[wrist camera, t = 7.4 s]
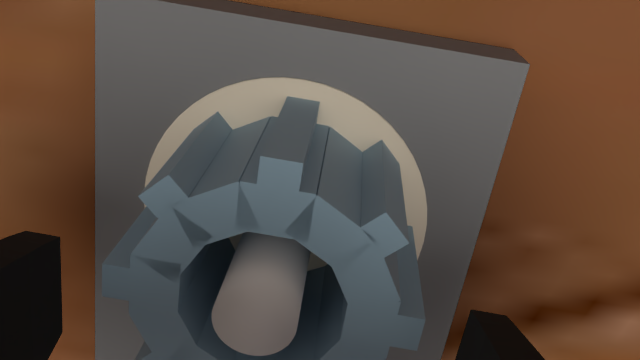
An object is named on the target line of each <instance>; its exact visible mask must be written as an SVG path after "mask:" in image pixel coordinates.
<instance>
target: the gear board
mask: <svg viewBox="0 0 640 360" xmlns="http://www.w3.org/2000/svg"><path fill="white" fill-rule="evenodd" d="M529 66H530V64H529V63H528V62H527V61H526V60H525V59H524V58H522V57H521V56H520V55H519V54H518V53H517V52H516V51H515V50H514V49H508V48H502V47H496V46H490V45H485V44H479V43H473V42H467V41H461V40H455V39H450V38H444V37H438V36H432V35H426V34H420V33H415V32H409V31H403V30H397V29H391V28H385V27H380V26H374V25H368V24H362V23H356V22H350V21H345V20H339V19H333V18H327V17H321V16H315V15H310V14H304V13H298V12H292V11H286V10H280V9H275V8H269V7H263V6H257V5H251V4H245V3H240V2H234V1H228V0H95V360H135V358H136V356H137V355H138V353H139V351H140V349H141V347H142V345H143V343H144V341H145V340H144V339H143V337H142V335H141V334H140V332H139V330H138V329H137V327H136V325H135V324H134V322H133V320H132V319H131V317H130V315H129V301H127V300H121V299H115V298H109V297H104V296H102V263H103V262H104V261H105V259H106V258H107V257H108V255H109V254H110V253H111V251H112V250H113V249H114V248H115V246H116V245H117V244H118V242H119V241H120V240H121V239H122V237H123V236H124V235H125V233H126V232H127V231H128V229H129V228H130V227H131V226H132V224H133V223H134V222H135V220H136V219H137V218H138V216H139V215H140V214H141V213H142V211H143V210H144V209H145V207H146V205H145V204H144V203H143V202H142V200H141V199H140V198H139V197H138V196H139V194H140V193H141V192H142V191H143V190H144V188H145V187H146V186H147V185H148V184H149V182H150V181H151V180H152V179H153V178H154V176H155V175H156V174H157V173H158V172H159V170H160V169H161V168H162V167H163V165H164V164H165V163H166V162H167V161H168V159H169V158H170V157H171V156H172V155H173V153H174V152H175V151H176V150H177V149H178V147H179V146H180V145H181V144H182V143H183V141H184V140H185V139H186V138H187V137H188V135H189V134H190V133H191V132H192V131H193V129H194V128H196V127H197V126H198V125H200V124H201V123H203V122H204V121H205V120H207V119H208V118H209V117H211V116H212V115H214V114H215V113H216V112H219V113H220V115H221V116H222V117H223V118H224V120H225V121H226V122H227V123H228V124H229V126H230V127H231V128H232V130H233V129H236V128H239V127H242V126H244V125H247V124H250V123H253V122H256V121H258V120H261V119H264V118H267V117H270V116H271V117H272V116H274V117H278V116H279V114H280V111H281V109H282V107H283V105H284V103H285V100H286V98H287V96H290V97H296V98H302V99H307V100H313V101H319V102H320V104H319V111H318V117H317V123H316V124H321V125H327V126H329V127H332V128H333V129H334V130H335V131H337V132H338V133H339V134H340V135H342V136H343V137H344V138H346V139H347V140H348V141H349V142H351V143H352V144H353V145H354V146H356V147H357V148H358V149H359V150H361V151H362V152H363V151H365V150H366V149H368V148H369V147H371V146H372V145H374V144H376V143H377V142H379V141H380V140H383V142H384V143H385V145H386V146H387V147H388V149H389V150H390V151H391V153H392V154H393V156H394V157H395V158H396V160H397V161H398V163H399V164H400V171H401V179H402V187H403V195H404V203H405V211H406V219H407V225H408V226H412V227H413V234H414V241H415V248H416V255H417V262H418V269H419V276H420V284H421V291H422V298H423V305H424V312H425V319H426V320H425V324H424V327H423V331H422V335H421V338H420V342H419V345H418V349H417V351H414V350H408V349H403V348H397V347H391V346H390V347H389V351H388V355H387V358H386V360H441V356H442V353H443V350H444V347H445V343H446V340H447V337H448V333H449V330H450V327H451V323H452V320H453V317H454V313H455V310H456V307H457V304H458V300H459V297H460V294H461V290H462V287H463V284H464V280H465V277H466V274H467V271H468V267H469V264H470V261H471V257H472V254H473V251H474V247H475V244H476V241H477V238H478V234H479V231H480V228H481V224H482V221H483V218H484V214H485V211H486V208H487V205H488V201H489V198H490V195H491V191H492V188H493V185H494V181H495V178H496V175H497V171H498V168H499V165H500V162H501V158H502V155H503V152H504V148H505V145H506V142H507V138H508V135H509V132H510V129H511V125H512V122H513V119H514V115H515V112H516V109H517V105H518V102H519V99H520V96H521V92H522V89H523V86H524V82H525V79H526V76H527V72H528V69H529ZM229 239H230V241H231V243H232V245H233V247H234V249H235V254H234V256H233V259H232V261H231V264H230V266H229V269H228V271H227V274H226V276H225V279H224V281H223V284H222V286H221V289H220V291H219V294H218V296H217V299H216V301H215V304H214V306H213V309H212V324H213V328H214V330H215V332H216V334H217V335H218V337H219V338H220V339H221V340H222V341H223V342H224V343H225V344H226V345H227V346H229V347H230V348H232V349H234V350H236V351H238V352H240V353H243V354H247V355H253V356H265V355H270V354H274V353H277V352H279V351H281V350H282V349H284V348H285V347H286V346H288V345H289V344H290V342H291V341H292V340H293V338H294V336H295V334H296V331H297V326H298V321H299V315H300V309H301V303H302V298H303V292H304V286H305V281H306V275H307V271H310V270H313V269H317V268H320V267H323V266H326V265H327V263H326V262H325V261H323V260H322V259H321V258H319V257H318V256H316V255H315V254H314V253H312V252H311V251H310V250H308V249H307V248H306V247H304V246H303V245H301V244H300V243H299V242H297V241H296V240H294V239H288V238H283V237H277V236H271V235H265V234H260V233H254V232H245V233H241V234H238V235H235V236H232V237H229Z"/></svg>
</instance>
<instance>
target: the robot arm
mask: <svg viewBox="0 0 640 360" xmlns="http://www.w3.org/2000/svg"><path fill="white" fill-rule="evenodd" d="M61 334H62V295H61V256H60V237H57V236H51V235H46V234H40V233H34V232H29V231H24V232H21V233H18V234H15V235H12V236H9V237H6V238H4V239H1V240H0V360H48V358H49V356H50V354H51V353H52V351H53V349H54V347H55V345H56V343H57V341H58V339H59V338H60V336H61ZM455 360H545V359H544V358H543V357H542V356H541V355H540V353H539V352H538V351H537V350H536V349H535V348H534V346H533V345H532V344H531V343H530V342H529V341H528V339H527V338H526V337H525V336H524V335H523V334H522V332H521V331H520V330H519V329H518V328H517V327H516V326H515V325H514V323H513V322H512V321H511V320H510V319H509V318H508V317H507V316H505V315H499V314H493V313H488V312H482V311H476V310H471V311H470V315H469V318H468V321H467V324H466V327H465V330H464V334H463V337H462V340H461V343H460V346H459V350H458V353H457V356H456V359H455Z"/></svg>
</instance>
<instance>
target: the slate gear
mask: <svg viewBox="0 0 640 360" xmlns="http://www.w3.org/2000/svg"><path fill="white" fill-rule="evenodd" d="M319 104H320V102H319V101H313V100H307V99H302V98H296V97H290V96H287V98H286V100H285V103H284V105H283V107H282V109H281V111H280V114H279V116H278V117H274V116H272V117H271V116H270V117H267V118H264V119H261V120H258V121H256V122H253V123H250V124H247V125H244V126H242V127H239V128H236V129H233V130H232V128H231V127H230V126H229V124H228V123H227V122H226V121H225V120H224V118H223V117H222V116H221V115H220V113H219V112H216V113H215V114H214V115H212V116H211V117H209V118H208V119H207V120H205V121H204V122H203V123H201V124H200V125H198V126H197V127H196V128H194V129H193V131H192V132H191V133H190V134H189V135H188V137H187V138H186V139H185V140H184V141H183V143H182V144H181V145H180V146H179V147H178V149H177V150H176V151H175V152H174V153H173V155H172V156H171V157H170V158H169V159H168V161H167V162H166V163H165V164H164V165H163V167H162V168H161V169H160V170H159V172H158V173H157V174H156V175H155V176H154V178H153V179H152V180H151V181H150V182H149V184H148V185H147V186H146V187H145V188H144V190H143V191H142V192H141V193H140V194H139V196H138V197H139V198H140V199H141V200H142V202H143V203H144V204H145V205H146V207H145V209H144V210H143V211H142V213H141V214H140V215H139V216H138V218H137V219H136V220H135V222H134V223H133V224H132V226H131V227H130V228H129V229H128V231H127V232H126V233H125V235H124V236H123V237H122V239H121V240H120V241H119V242H118V244H117V245H116V246H115V248H114V249H113V250H112V251H111V253H110V254H109V255H108V257H107V258H106V259H105V261H104V262H103V263H102V296H104V297H109V298H115V299H121V300H127V301H129V315H130V317H131V319H132V320H133V322H134V324H135V325H136V327H137V329H138V330H139V332H140V334H141V335H142V337H143V339H144V340H145V341H144V343H143V345H142V347H141V349H140V351H139V353H138V355H137V356H136V358H135V360H386V358H387V355H388V351H389V347H390V346H391V347H397V348H403V349H408V350H414V351H417V349H418V345H419V342H420V338H421V335H422V331H423V327H424V324H425V320H426V319H425V312H424V305H423V298H422V291H421V284H420V276H419V269H418V262H417V255H416V248H415V241H414V234H413V227H412V226H408V225H407V219H406V211H405V203H404V195H403V187H402V179H401V171H400V164H399V163H398V161H397V160H396V158H395V157H394V156H393V154H392V153H391V151H390V150H389V149H388V147H387V146H386V145H385V143H384V142H383V140H380V141H379V142H377V143H376V144H374V145H372V146H371V147H369V148H368V149H366V150H365V151H363V152H362V151H361V150H359V149H358V148H357V147H356V146H354V145H353V144H352V143H351V142H349V141H348V140H347V139H346V138H344V137H343V136H342V135H340V134H339V133H338V132H337V131H335V130H334V129H333V128H332V127H329V126H327V125H321V124H316V123H317V117H318V111H319ZM245 232H254V233H260V234H265V235H271V236H277V237H283V238H288V239H294V240H296V241H297V242H299V243H300V244H301V245H303V246H304V247H306V248H307V249H308V250H310V251H311V252H312V253H314V254H315V255H316V256H318V257H319V258H321V259H322V260H323V261H325V262H326V263H327V265H326V266H323V267H320V268H317V269H313V270H310V271H307V275H306V281H305V286H304V292H303V298H302V303H301V309H300V315H299V321H298V326H297V331H296V334H295V336H294V338H293V340H292V341H291V342H290V344H289V345H288V346H286V347H285V348H284V349H282V350H281V351H279V352H277V353H274V354H270V355H265V356H253V355H247V354H243V353H240V352H238V351H236V350H234V349H232V348H230V347H229V346H227V345H226V344H225V343H224V342H223V341H222V340H221V339H220V338H219V337H218V335H217V334H216V332H215V330H214V328H213V324H212V309H213V306H214V304H215V301H216V299H217V296H218V294H219V291H220V289H221V286H222V284H223V281H224V279H225V276H226V274H227V271H228V269H229V266H230V264H231V261H232V259H233V256H234V254H235V249H234V247H233V245H232V243H231V241H230V239H229V237H232V236H235V235H238V234H241V233H245Z"/></svg>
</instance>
